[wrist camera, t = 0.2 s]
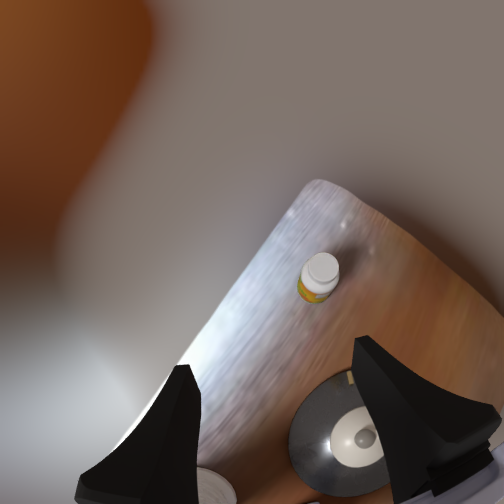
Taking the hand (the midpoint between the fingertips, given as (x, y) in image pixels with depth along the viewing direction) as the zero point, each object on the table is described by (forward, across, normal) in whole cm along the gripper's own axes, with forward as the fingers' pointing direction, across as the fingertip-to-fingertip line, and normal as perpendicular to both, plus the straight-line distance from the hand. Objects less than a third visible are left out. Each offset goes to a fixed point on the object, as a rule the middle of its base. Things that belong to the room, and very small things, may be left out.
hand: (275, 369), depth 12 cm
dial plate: (+11, -12, +32) cm, 36 cm away
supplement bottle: (+30, -9, +15) cm, 35 cm away
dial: (+11, -14, +31) cm, 36 cm away
